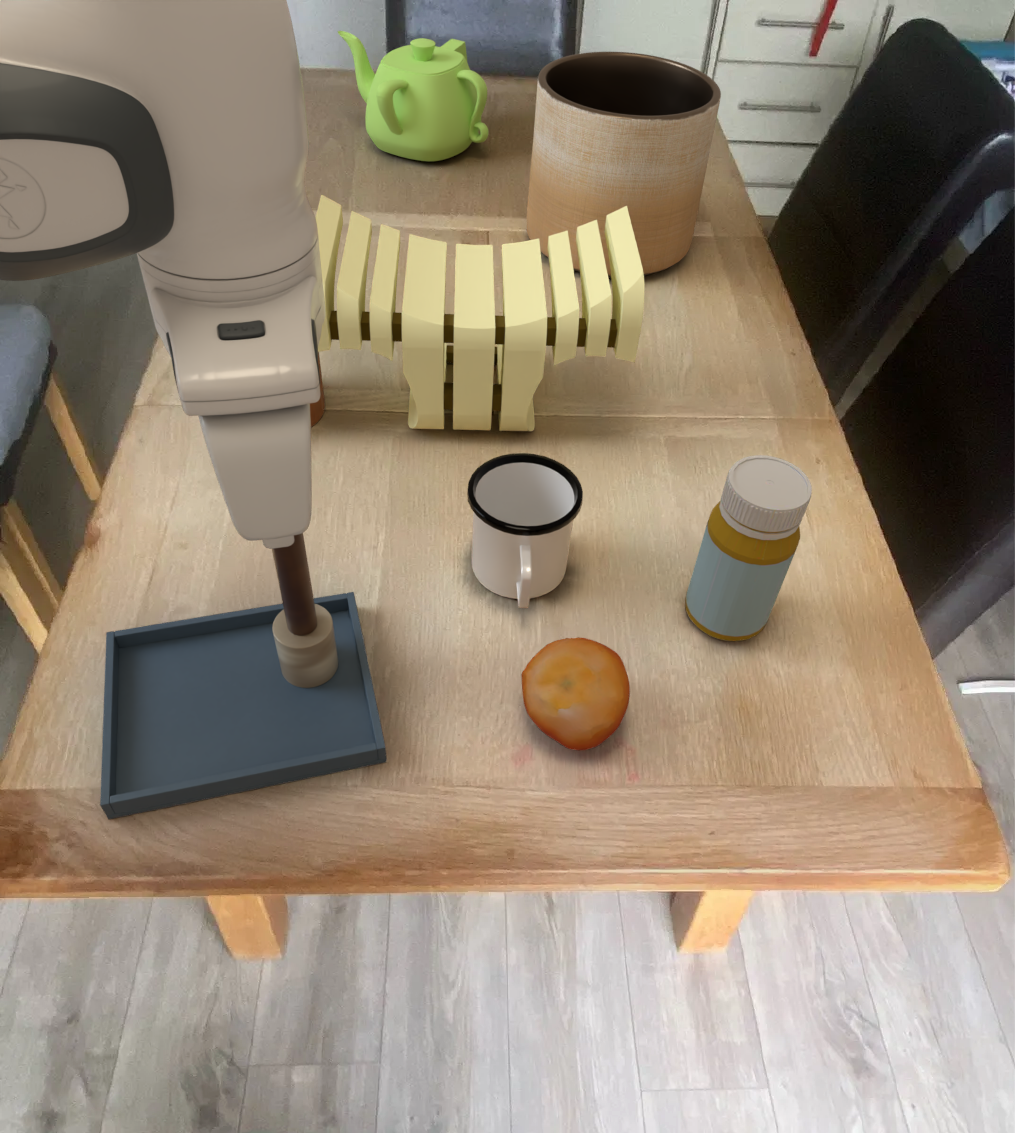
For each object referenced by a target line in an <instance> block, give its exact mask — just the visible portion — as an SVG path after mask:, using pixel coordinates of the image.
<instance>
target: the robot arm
mask: <svg viewBox="0 0 1015 1133" xmlns="http://www.w3.org/2000/svg"><path fill="white" fill-rule="evenodd" d="M288 4H289V3H288V1H287V0H0V281H5V282H7V281H8V282H23V281H33V280H39V279H45V278H50V277H54V276H60V275H63V274H67V273H71V272H77V271H81V270H84V269H88V268H92V267H95V266H99V265H103V264H107V263H111V262H114V261H117V260H121V259H123V258H127V257H129V256H132V255H136V258H137V261H138V264H139V269H140V273H141V277H142V281H143V284H144V288H145V292H146V296H147V300H148V303H149V304H148V305H149V308H150V312H151V315H152V316H151V317H152V320H153V324H154V328H155V330H156V332H157V335H158V336H159V337H160V339H161V341H162V344H163V345H164V348H165V350H166V351H167V353H168V355H169V357H170V359H171V364H172V370H173V371H172V372H173V377H174V381H175V385H176V390H177V393H178V396H179V399H180V404H181V408H182V411H183V412H184V414H185V415H186V416H188V417H198V421H199V424H200V428H201V432H202V435H203V439H204V442H205V445H206V449H207V452H208V456H209V458H210V461H211V465H212V467H213V471H214V474H215V477H216V480H217V482H218V485H219V488H220V491H221V494H222V497H223V500H224V503H225V506H226V508H227V511H228V514H229V517H230V520H231V522H232V524H233V526H234V529H235V530H236V532H237V533H238V534H239V536H240V537H241V538H242V539H244V540H246V541H251V542H256V541H257V542H258V541H262V545H263V546H264V547H265V548H266V549H270V550H272V549H274V548H281V547H288V546H290V545H292V544H293V543H294V535H298V534H301V533H303V534H304V533H305V532H306V531H307V530H308V529H309V527H310V523H311V519H312V510H313V508H312V507H313V505H312V504H313V482H312V481H313V479H312V478H313V477H312V473H313V472H312V471H313V469H312V468H313V466H312V427H311V418H310V403H315V402H317V401H319V399H320V385H319V384H320V375H319V366H318V345H319V341H320V337H321V331H322V325H323V323H324V319H325V313H326V311H325V300H324V290H323V279H322V271H321V260H320V250H319V238H318V228H317V223H316V218H315V217H316V214H315V213H314V210H313V207H312V206H311V203H310V200H309V198H308V194H307V189H306V169H307V168H306V167H307V163H308V160H309V159H308V158H309V153H310V152H309V151H310V150H309V149H310V138H309V128H308V118H307V109H306V100H305V94H304V84H303V77H302V71H301V65H300V58H299V53H298V47H297V41H296V36H295V31H294V30H295V29H294V25H293V22H292V16H291V12H290V9H289V5H288Z"/></svg>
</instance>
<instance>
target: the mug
mask: <svg viewBox="0 0 1015 1133" xmlns="http://www.w3.org/2000/svg"><path fill="white" fill-rule="evenodd" d="M583 491H584V490H583V487H582V483H581V482H580V480H579V478H578V477H577V475H576V474H575V473H574V472H573V471H572V470H571V469H569V467H567V466H566V465H565V464H563V463H561V462H560V461H557V460H556V459H553V458H550V457H547V456H545V455H541V454H537V453H528V452H527V453H526V452H515V453H514V452H513V453H507V454H502V455H499V456H496V457H493V458H491V459H488V460H487V461H485V462H483V463H482V464H481V465H479V466H478V467H477V468H476V469H475V470H474V471H473V473H471V476H470V477H469V479H468V484H467V491H466V497H467V502H468V504H469V507H470V509H471V511H472V513H473V515H472V536H471V537H472V538H471V540H472V542H471V569H472V571H473V574H474V576H475V578H476V579H477V581H478V582H479V583H480V584H481V585H482V586H483V587H484V588H485V589H487V590H488V591H490V592H492V593H494V594H496V595H499V596H501V597H504V598H509V599H514V600H515V599H516V600H517V607H518V608H519V609H528V608H529V606H530V600H531V599H534V598H539V597H541V596H545V595H547V594H549V593H550V592H552V591H553V590H555V589H556V588H557V587H558V586H559V585H560V584H561V582H562V581H563V579H564V578H565V574H566V572H567V567H568V559H569V552H570V545H571V544H570V543H571V539H572V538H571V536H572V530H573V523H574V520H575V519H576V518H577V516H578V515H579V513H580V512H581V509H582V506H583V501H584V500H583V497H584V496H583V495H584V492H583Z"/></svg>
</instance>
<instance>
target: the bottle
mask: <svg viewBox="0 0 1015 1133" xmlns="http://www.w3.org/2000/svg"><path fill="white" fill-rule="evenodd" d="M812 488H813V487H812V482H811V481H810V479H809V477H808V476H807V474H806V472H804V471H803V470H802V469H801V468H800V467H798V466H797V465H795V464H794V463H792V462H790V461H788V460H785V459H783V458H781V457H777V456H773V455H764V454H756V455H749V456H745V457H742V458H740V459H739V460H737V461H735V462H734V463H733V464H732V466H731V467H730V468H729V470H728V472H727V475H726V479H725V482H724V486H723V489H722V491H721V493H722V494H721V497H720V500H719V502H717V503H716V505H715V506H714V507H713V508H712V510H711V512H710V514H709V517H708V520H707V522H706V527H705V529H704V533H703V537H702V540H701V543H700V546H699V551H698V553H697V556H696V560H695V564H694V566H693V571H692V574H691V577H690V580H689V584H688V586H687V591H686V594H685V600H684V607H685V611H686V614H687V616H688V618H689V619H690V621H691V622H692V623H693V624H694V625H695V627H697V628H698V629H699V630H700V631H701V632H703V633H704V634H706V635H707V636H709V637H712V638H715V639H717V640H720V641H727V642H738V641H739V642H740V641H746V640H749V639H752V638H754V637H757V635H759V634H760V633H761V632H762V631H763V630H764V629H765V627H766V624H767V623H768V620H769V618H770V615H771V613H772V611H773V608H774V606H775V604H776V601H777V599H778V596H779V594H780V591H781V589H782V586H783V584H784V581H785V578H786V576H787V573H788V571H789V568H790V566H791V564H792V561H793V559H794V557H795V554H796V552H797V549H798V545H799V543H800V539H801V529H800V528H801V527H800V525H801V523H802V520H803V518H804V516H805V514H806V512H807V510H808V506H809V503H810V501H811V499H812V494H813V489H812Z"/></svg>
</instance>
